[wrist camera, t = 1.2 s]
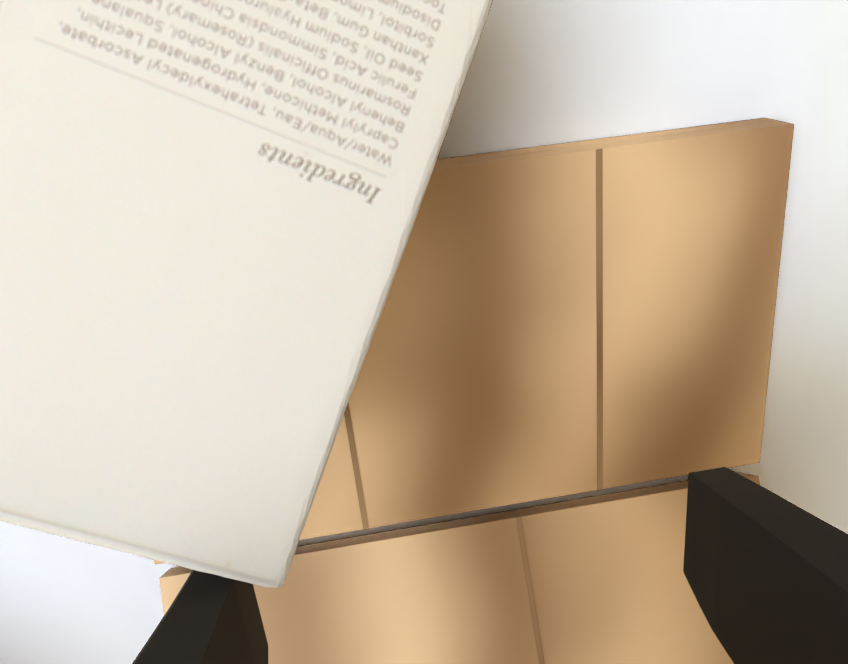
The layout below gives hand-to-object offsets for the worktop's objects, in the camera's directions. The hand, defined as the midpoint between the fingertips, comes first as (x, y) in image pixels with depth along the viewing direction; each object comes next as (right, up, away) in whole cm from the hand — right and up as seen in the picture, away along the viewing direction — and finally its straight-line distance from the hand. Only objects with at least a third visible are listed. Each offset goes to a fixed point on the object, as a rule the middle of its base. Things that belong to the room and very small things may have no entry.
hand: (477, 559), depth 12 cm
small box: (-2, +11, +1) cm, 12 cm away
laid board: (0, +3, +9) cm, 10 cm away
